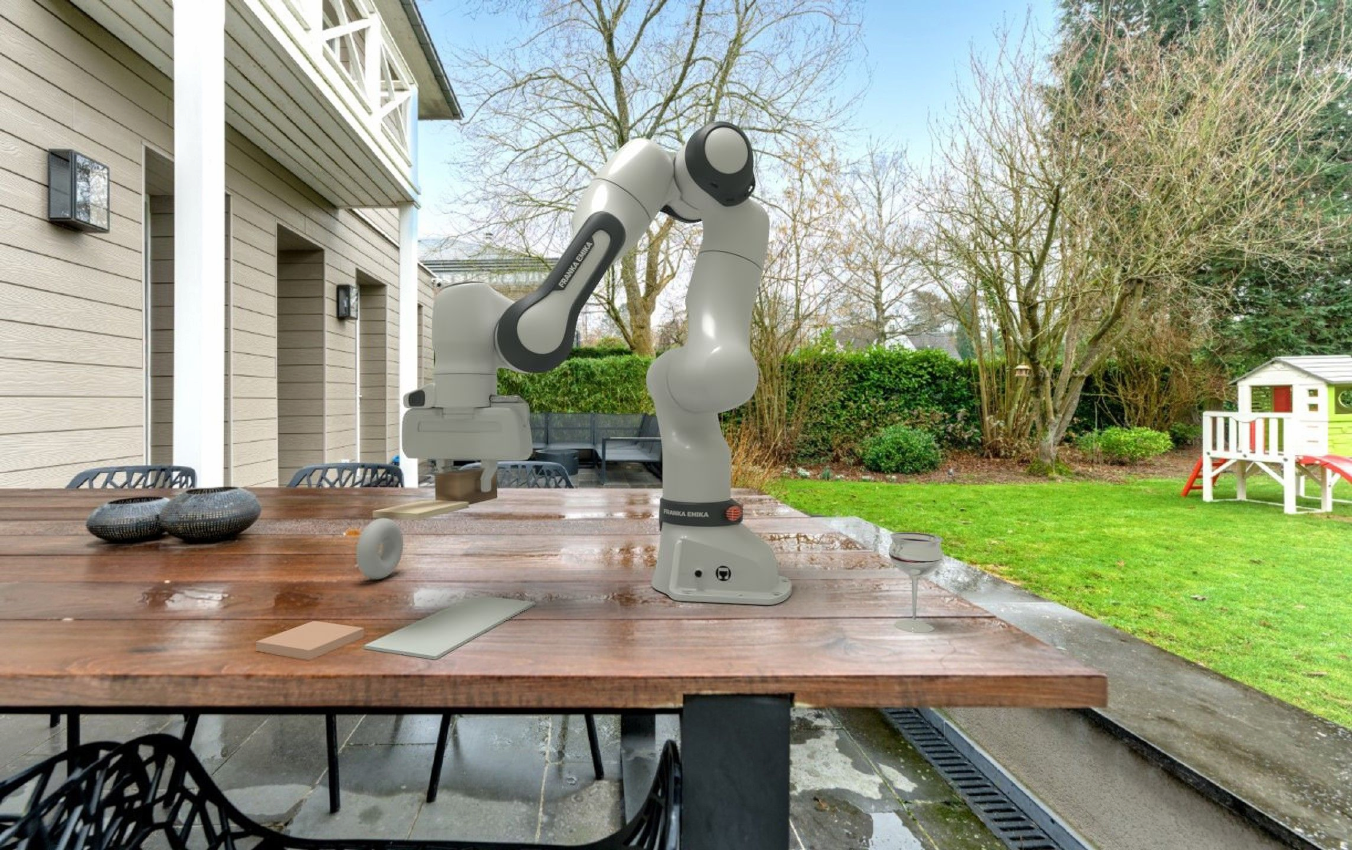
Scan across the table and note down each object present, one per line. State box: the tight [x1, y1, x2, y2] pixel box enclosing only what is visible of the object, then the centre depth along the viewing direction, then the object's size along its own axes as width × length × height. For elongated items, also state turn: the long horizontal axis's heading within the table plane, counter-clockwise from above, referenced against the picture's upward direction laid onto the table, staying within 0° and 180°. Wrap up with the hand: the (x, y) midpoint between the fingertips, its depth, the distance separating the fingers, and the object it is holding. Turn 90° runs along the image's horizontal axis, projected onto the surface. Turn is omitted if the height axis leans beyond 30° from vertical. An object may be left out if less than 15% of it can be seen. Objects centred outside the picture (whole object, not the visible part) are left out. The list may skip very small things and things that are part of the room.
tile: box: [255, 620, 365, 661], centre depth 79 cm, size 8×2×8 cm
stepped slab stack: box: [372, 467, 498, 521], centre depth 91 cm, size 7×19×4 cm, turn 161°
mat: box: [363, 595, 536, 661], centre depth 86 cm, size 10×22×1 cm, turn 162°
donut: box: [355, 518, 404, 580], centre depth 108 cm, size 10×4×10 cm, turn 170°
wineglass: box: [888, 531, 944, 633], centre depth 88 cm, size 7×7×12 cm
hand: (467, 490), depth 95 cm, fingers closed on stepped slab stack, 4 cm apart
